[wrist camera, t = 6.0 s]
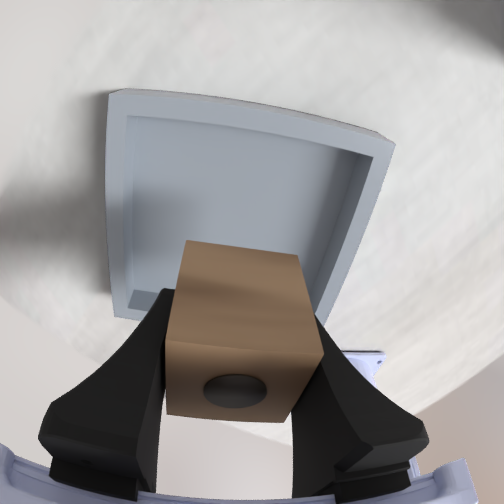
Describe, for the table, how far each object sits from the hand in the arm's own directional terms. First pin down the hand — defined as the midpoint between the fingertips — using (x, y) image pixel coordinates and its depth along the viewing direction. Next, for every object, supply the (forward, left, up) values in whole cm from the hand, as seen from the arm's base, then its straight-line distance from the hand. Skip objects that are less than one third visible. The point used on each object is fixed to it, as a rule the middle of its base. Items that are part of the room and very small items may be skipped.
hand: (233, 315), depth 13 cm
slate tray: (0, 0, -8) cm, 8 cm away
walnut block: (0, 0, -1) cm, 1 cm away
